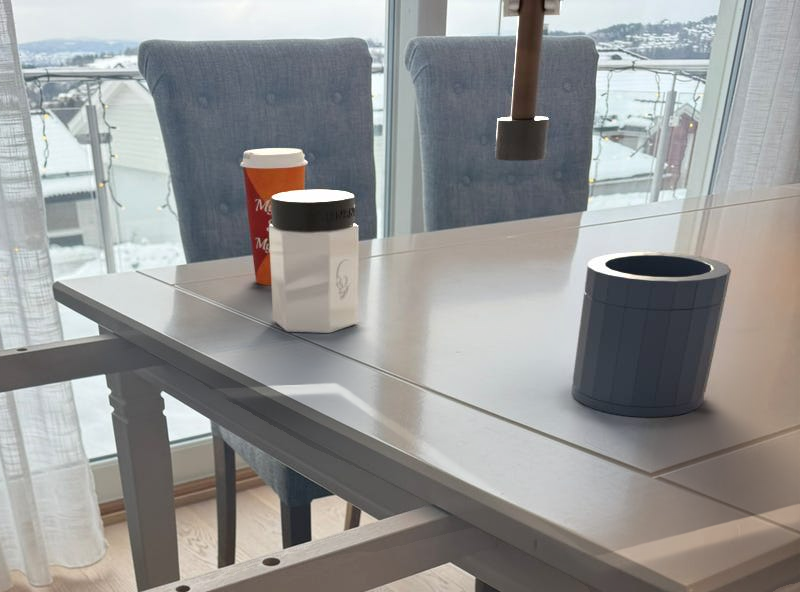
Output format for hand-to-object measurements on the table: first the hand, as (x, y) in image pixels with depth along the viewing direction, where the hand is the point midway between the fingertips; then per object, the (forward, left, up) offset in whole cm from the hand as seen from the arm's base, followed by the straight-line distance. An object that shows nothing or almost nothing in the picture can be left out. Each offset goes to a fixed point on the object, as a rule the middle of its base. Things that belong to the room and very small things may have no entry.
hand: (531, 10), depth 87 cm
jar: (+22, -3, -27) cm, 34 cm away
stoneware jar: (+8, +30, -26) cm, 41 cm away
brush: (0, -1, -12) cm, 12 cm away
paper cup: (+18, -23, -27) cm, 39 cm away
